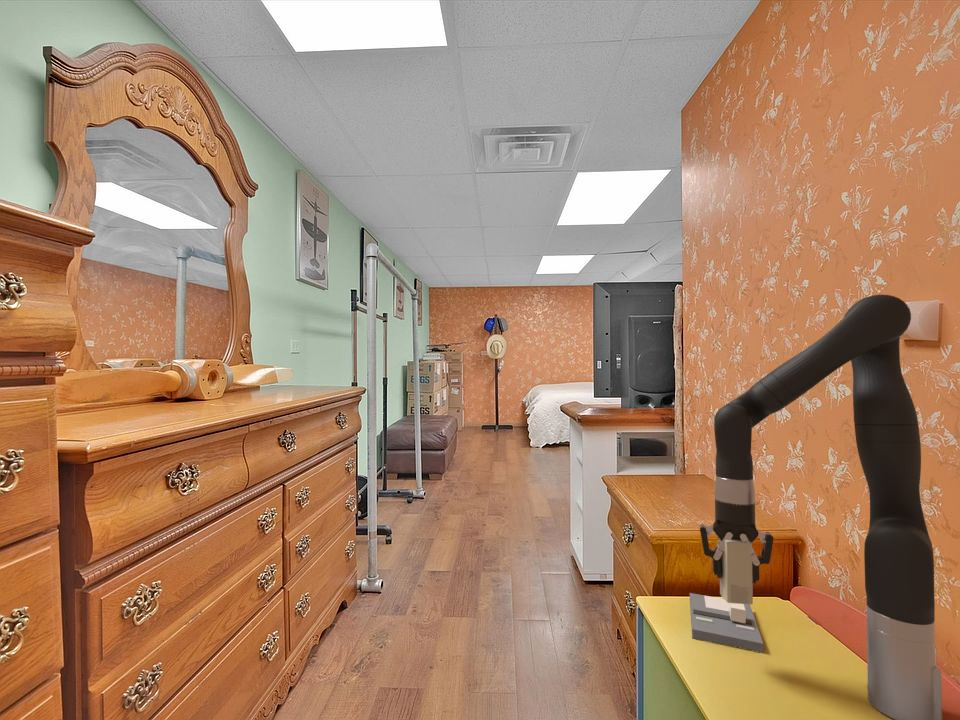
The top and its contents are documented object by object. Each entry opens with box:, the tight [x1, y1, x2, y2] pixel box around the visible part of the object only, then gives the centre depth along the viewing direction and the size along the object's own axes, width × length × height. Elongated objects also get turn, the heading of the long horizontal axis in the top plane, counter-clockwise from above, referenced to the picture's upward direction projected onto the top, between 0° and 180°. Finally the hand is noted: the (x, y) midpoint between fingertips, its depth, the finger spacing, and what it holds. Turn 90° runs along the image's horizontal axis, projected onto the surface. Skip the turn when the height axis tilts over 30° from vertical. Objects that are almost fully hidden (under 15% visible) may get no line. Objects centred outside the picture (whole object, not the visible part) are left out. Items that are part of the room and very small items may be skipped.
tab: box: [729, 603, 746, 623], centre depth 111 cm, size 3×4×3 cm
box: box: [719, 539, 754, 605], centre depth 99 cm, size 5×4×13 cm
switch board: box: [689, 592, 764, 654], centre depth 113 cm, size 14×20×2 cm
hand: (735, 579), depth 99 cm, fingers closed on box, 6 cm apart
